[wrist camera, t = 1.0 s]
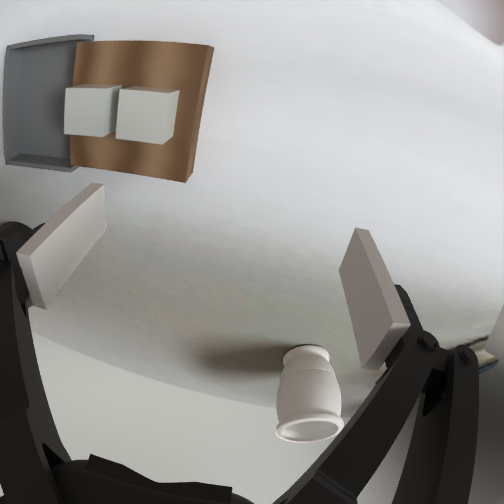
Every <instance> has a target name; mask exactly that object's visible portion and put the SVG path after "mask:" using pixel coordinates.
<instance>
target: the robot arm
mask: <svg viewBox="0 0 504 504" xmlns="http://www.w3.org/2000/svg"><path fill="white" fill-rule="evenodd" d="M106 230H107V224H106V210H105V190H104V184H100V183H91V184H90V185H89V186H87V187H86V188H85V189H84V190H83V191H81V192H80V193H79V194H78V195H77V196H75V197H74V198H73V199H72V200H71V201H70V202H69V203H67V204H66V205H65V206H64V207H63V208H62V209H61V210H60V211H58V212H57V213H56V214H55V215H54V216H53V217H52V218H51V219H50V220H49V221H48V222H46V223H43V224H41V225H39V226H37V227H35V228H34V229H33V230H31V229H30V228H29V227H27V226H25V225H23V224H20V223H16V222H10V223H7V224H5V225H4V226H3V227H2V228H1V229H0V484H1V487H2V490H3V493H4V495H3V496H1V497H0V504H254V503H253V502H251V501H249V500H248V499H246V498H244V497H242V496H239V495H237V494H234V493H232V487H228V486H220V485H213V484H206V483H200V482H178V483H158V482H154V481H152V480H150V479H148V478H146V477H144V476H142V475H141V474H139V473H137V472H135V471H133V470H131V469H130V468H128V467H126V466H124V465H122V464H119V463H116V462H113V461H110V460H106V459H104V458H101V457H98V456H95V455H92V454H90V457H89V460H73V461H72V460H71V458H70V456H69V455H68V453H67V451H66V449H65V448H64V446H63V444H62V442H61V440H60V438H59V435H58V432H57V429H56V426H55V424H54V420H53V417H52V414H51V411H50V408H49V405H48V401H47V398H46V394H45V391H44V387H43V384H42V380H41V375H40V371H39V367H38V363H37V358H36V354H35V349H34V344H33V338H32V333H31V327H30V321H29V314H28V308H29V307H31V306H32V305H33V306H36V307H39V308H42V309H45V310H47V308H48V307H49V305H50V304H51V302H52V301H53V300H54V298H55V297H56V295H57V294H58V292H59V291H60V290H61V288H62V287H63V285H64V284H65V283H66V281H67V280H68V278H69V277H70V276H71V274H72V273H73V272H74V270H75V269H76V268H77V266H78V265H79V264H80V262H81V261H82V260H83V258H84V257H85V256H86V255H87V253H88V252H89V251H90V250H91V248H92V247H93V246H94V244H95V243H96V242H97V241H98V239H99V238H100V237H101V236H102V235H103V233H104V232H105V231H106ZM339 273H340V277H341V281H342V285H343V288H344V292H345V296H346V300H347V304H348V308H349V313H350V317H351V321H352V325H353V330H354V334H355V338H356V343H357V347H358V352H359V357H360V362H361V366H362V369H369V370H379V368H380V367H381V366H382V364H383V363H384V362H385V363H386V367H387V369H386V371H385V372H384V373H383V375H382V376H381V377H380V378H379V379H378V381H377V382H376V383H375V384H376V385H375V386H374V388H373V389H372V391H371V392H370V394H369V395H368V396H367V398H366V399H365V401H364V402H363V403H362V405H361V406H360V407H359V409H358V410H357V411H356V413H355V414H354V415H353V417H352V418H351V419H350V420H349V422H348V423H347V424H346V426H345V427H344V428H343V429H342V431H341V432H340V433H339V434H338V435H337V437H336V438H335V439H334V440H333V441H332V443H331V444H330V445H329V446H328V447H327V449H326V450H325V451H324V452H323V453H322V454H321V455H320V457H319V458H318V459H317V460H316V461H315V462H314V463H313V464H312V465H311V467H310V468H309V469H308V470H307V471H306V472H305V473H304V474H303V475H302V476H301V477H300V478H299V479H298V481H296V482H295V484H294V485H292V486H291V487H290V488H289V490H287V491H286V492H285V493H284V494H283V495H282V496H280V497H279V498H278V499H277V500H276V501H275V502H274V503H273V504H357V497H358V495H359V494H360V492H361V491H362V490H363V488H364V487H365V486H366V484H367V483H368V481H369V480H370V478H371V477H372V475H373V474H374V473H375V471H376V470H377V468H378V467H379V465H380V464H381V462H382V460H383V459H384V457H385V456H386V454H387V453H388V451H389V449H390V448H391V446H392V444H393V443H394V441H395V439H396V438H397V436H398V434H399V433H400V431H401V429H402V427H403V426H404V424H405V422H406V420H407V418H408V416H409V415H410V413H411V411H412V409H413V407H414V405H415V403H416V401H417V399H418V397H419V395H420V393H421V395H420V400H419V406H418V411H417V416H416V421H415V425H414V429H413V434H412V438H411V442H410V446H409V450H408V453H407V458H406V461H405V464H404V468H403V471H402V474H401V478H400V481H399V484H398V487H397V490H396V493H395V496H394V499H393V502H392V504H468V499H469V494H470V488H471V483H472V476H473V470H474V462H475V453H476V444H477V432H478V431H477V430H478V412H479V410H478V409H479V368H478V359H477V356H476V354H475V353H474V351H472V349H471V348H469V347H467V346H465V345H458V346H457V347H456V348H455V349H454V350H453V351H452V352H451V351H448V350H446V349H443V348H440V346H439V343H438V341H437V339H436V338H435V337H434V336H433V335H432V334H431V333H429V332H427V331H424V330H423V328H422V326H421V323H420V321H419V319H418V316H417V314H416V312H415V310H414V307H413V305H412V303H411V300H410V298H409V296H408V294H407V292H406V291H405V290H404V289H403V288H402V287H401V286H400V285H396V284H394V283H393V281H392V279H391V277H390V274H389V272H388V270H387V268H386V266H385V263H384V261H383V259H382V257H381V255H380V253H379V251H378V249H377V246H376V244H375V242H374V240H373V238H372V236H371V234H370V232H369V230H364V229H360V228H355V230H354V232H353V235H352V238H351V240H350V243H349V246H348V248H347V251H346V253H345V256H344V258H343V261H342V263H341V266H340V268H339Z"/></svg>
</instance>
